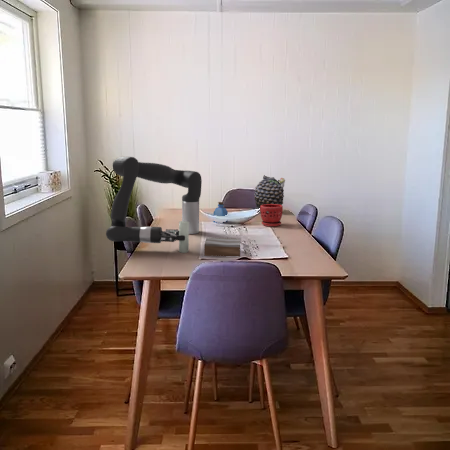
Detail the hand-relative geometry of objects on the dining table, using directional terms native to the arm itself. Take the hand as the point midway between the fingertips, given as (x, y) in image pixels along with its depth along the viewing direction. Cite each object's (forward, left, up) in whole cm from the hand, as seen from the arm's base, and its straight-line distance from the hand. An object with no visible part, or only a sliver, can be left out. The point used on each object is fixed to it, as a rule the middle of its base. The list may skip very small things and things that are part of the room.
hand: (186, 235), depth 217 cm
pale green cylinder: (0, -1, -8) cm, 8 cm away
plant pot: (-64, +43, -8) cm, 77 cm away
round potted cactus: (-104, +44, -8) cm, 114 cm away
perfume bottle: (-69, +13, -8) cm, 71 cm away
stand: (0, +17, -8) cm, 19 cm away
